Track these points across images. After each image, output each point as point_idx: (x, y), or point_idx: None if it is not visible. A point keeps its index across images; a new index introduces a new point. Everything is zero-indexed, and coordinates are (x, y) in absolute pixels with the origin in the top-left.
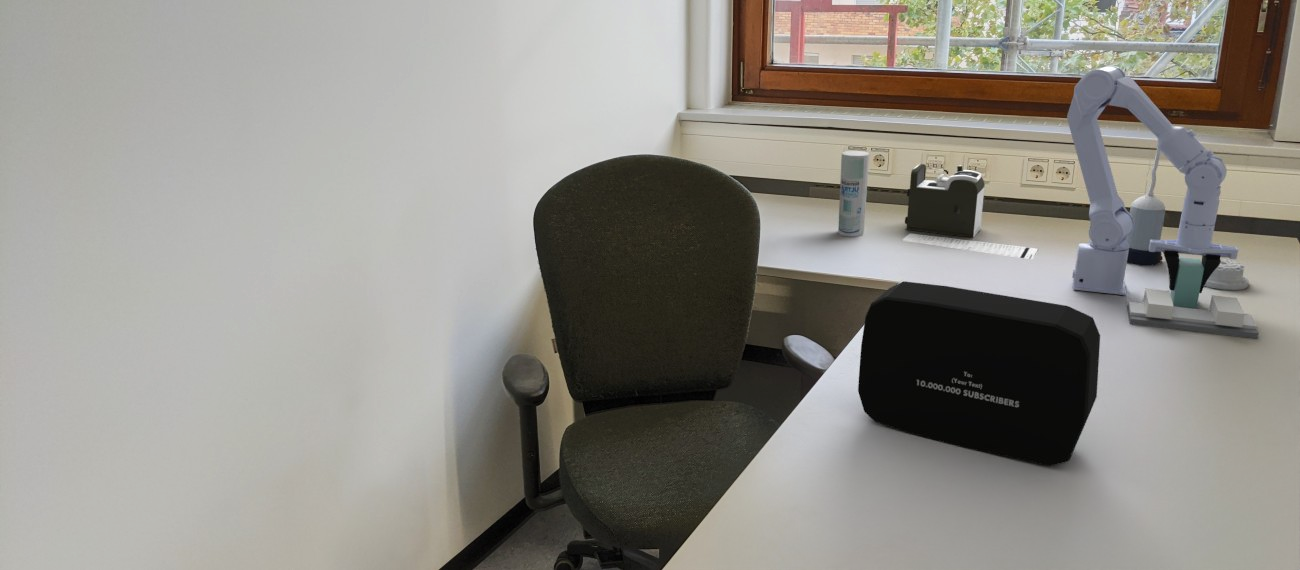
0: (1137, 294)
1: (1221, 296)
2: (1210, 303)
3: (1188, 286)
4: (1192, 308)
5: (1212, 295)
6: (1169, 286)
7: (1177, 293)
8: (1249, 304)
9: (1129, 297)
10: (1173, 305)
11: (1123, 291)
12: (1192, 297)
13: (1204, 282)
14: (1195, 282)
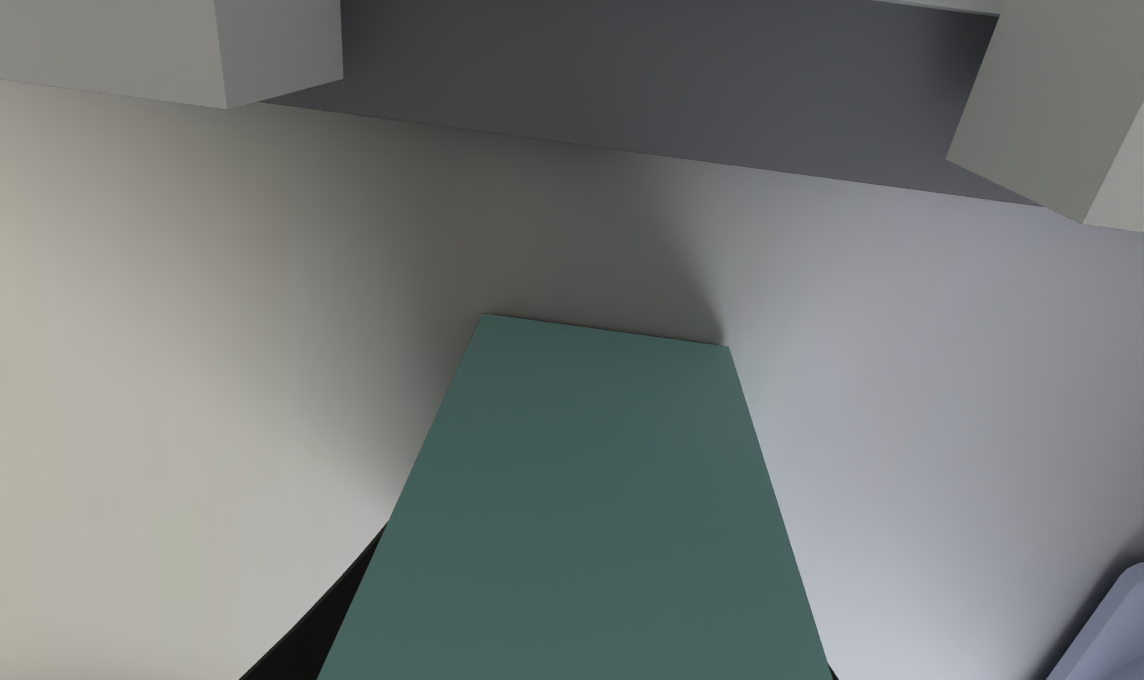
0: (956, 607)
1: (36, 60)
2: (306, 58)
3: (594, 504)
4: (570, 127)
5: (214, 92)
6: None
7: (723, 437)
8: (11, 519)
9: (1094, 525)
10: (721, 347)
11: (1139, 617)
12: (525, 391)
13: (319, 620)
14: (478, 563)
